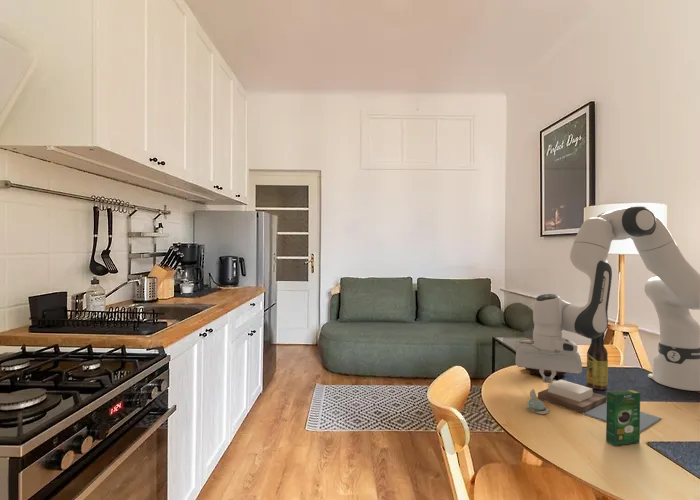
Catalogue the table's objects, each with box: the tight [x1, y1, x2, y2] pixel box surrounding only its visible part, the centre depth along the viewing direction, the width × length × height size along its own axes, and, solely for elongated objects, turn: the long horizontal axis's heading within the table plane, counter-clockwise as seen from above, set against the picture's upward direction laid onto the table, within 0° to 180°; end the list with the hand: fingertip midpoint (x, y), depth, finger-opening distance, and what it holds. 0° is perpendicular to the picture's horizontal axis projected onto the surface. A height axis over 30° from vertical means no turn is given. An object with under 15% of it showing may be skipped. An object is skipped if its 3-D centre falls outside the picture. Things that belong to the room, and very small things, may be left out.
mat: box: [583, 401, 662, 433], centre depth 112 cm, size 15×14×1 cm
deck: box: [537, 388, 607, 415], centre depth 124 cm, size 15×14×2 cm
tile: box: [547, 379, 594, 402], centre depth 125 cm, size 8×10×2 cm
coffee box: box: [605, 388, 641, 447], centre depth 98 cm, size 8×3×13 cm, turn 103°
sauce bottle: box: [586, 332, 609, 391], centre depth 136 cm, size 7×6×20 cm
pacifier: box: [526, 389, 550, 415], centre depth 117 cm, size 7×6×6 cm
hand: (547, 382), depth 131 cm, fingers closed
